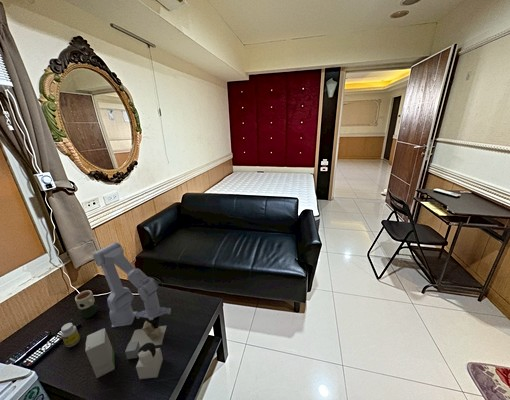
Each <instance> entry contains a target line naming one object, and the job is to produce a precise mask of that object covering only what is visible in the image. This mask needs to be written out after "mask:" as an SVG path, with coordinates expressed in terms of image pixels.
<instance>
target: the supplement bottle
mask: <svg viewBox="0 0 510 400" xmlns="http://www.w3.org/2000/svg"><path fill="white" fill-rule="evenodd" d="M60 329H61V333H60V336H61V339H62V340H63V343H64V345H65V347H67V348H71V347H73V346H75V345H77V344H78V343H79V342H80V340H81V336H80V333H79V331H78V329H77V327H76V325H74V324H73V323H72V322H68V323H65V324H63V326H62V327H61V328H60Z"/></svg>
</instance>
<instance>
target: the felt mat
mask: <svg viewBox="0 0 510 400" xmlns="http://www.w3.org/2000/svg"><path fill="white" fill-rule="evenodd" d="M159 327H160V328H161V332H160V335H159V337H158V338H155V339H153V340H150V338H149V337H148V336H147V334H146V333H145V332H144V331H143V329H142V328H140V329H139V328H138V329H135V330H134V331H133V334H132V336H131V339H130V341H129V343H131V342H139V345H140V348H141V347H142V346H143V345H144V344H146V343H153V344H154V345H155V346H161V345H163V340H164V337H165V333H166V330H167V325H159Z"/></svg>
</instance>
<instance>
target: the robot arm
mask: <svg viewBox="0 0 510 400" xmlns="http://www.w3.org/2000/svg"><path fill="white" fill-rule="evenodd" d="M124 251H125V250H124V249H123V247H122V245H121V244H120V243H119V242H116V241H115V242H113V243H111V244H109V245H107V246H105V247H103V248H101V249H99V250H97V251H96V250H95V251H94V253H93V255H92V257H93V260H94V262H95V265H96V266H97V267H101V269H102V272H103V274H104V277H105V279H106V282H107V285H108V287H109V289H110V294H109V295H108V297H107V299H106V300H107V301H106V302H107V308H108V309H109V319H110V323H111V328H117V327H123V326H130V325H133V322H134V320H135V317H136V319H140V318H145V319H146V321H147V322H149V323H151V324H152V325H153V326H154V328H155V329H156V328H158V326H160V317H161V316H163V315H166V314H167V315H171V312H172V309H171V307H165V306H160V302H159V301H160V300H159V297H158V292H157V289H159V283H158V281H157V280H155V278H152V277H150V276H147V275H146V274H145V272H143V271H142V270H141V269H140V268H137V267H136V268H135V266H133V264H132V263H131V262H130V261H129V260H128V258H127V257H126V256H125V254H124V253H125V252H124ZM116 266H117V267H118V268H119V269H120V270H121V271H122V272H124V273H125V274H126V275H127V280H128V281H129V282H130V283H131V284H132V285H133V286H134V287H135V288H136V289H137V293H138V295H139V296H140V299H141V300H142V301H143V306H144V310H141V311H134V310H133V307H132V306H133V305H132V303H133V302H132V301H133V300H134V294H133V292H132V291H131V289H130V288H128V287H126V286H123V284H122V281H121V278H120V276H119V273H118V270H117V268H116Z"/></svg>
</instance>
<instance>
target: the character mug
mask: <svg viewBox="0 0 510 400" xmlns="http://www.w3.org/2000/svg"><path fill="white" fill-rule="evenodd" d="M74 300H75V303H76V305H77V308H78V309H79V310H81V313H82V318H84V319H89V318H91V317H93V316H94V315H95V314H96V313H97V312H98V309H97V307H96V305H95V304H94V303H95V297H94V294H93V292H92V290H89V289H88V290H87V289H86V290H83V291H81V292H79V293H78V294H77V295H75V297H74Z"/></svg>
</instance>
